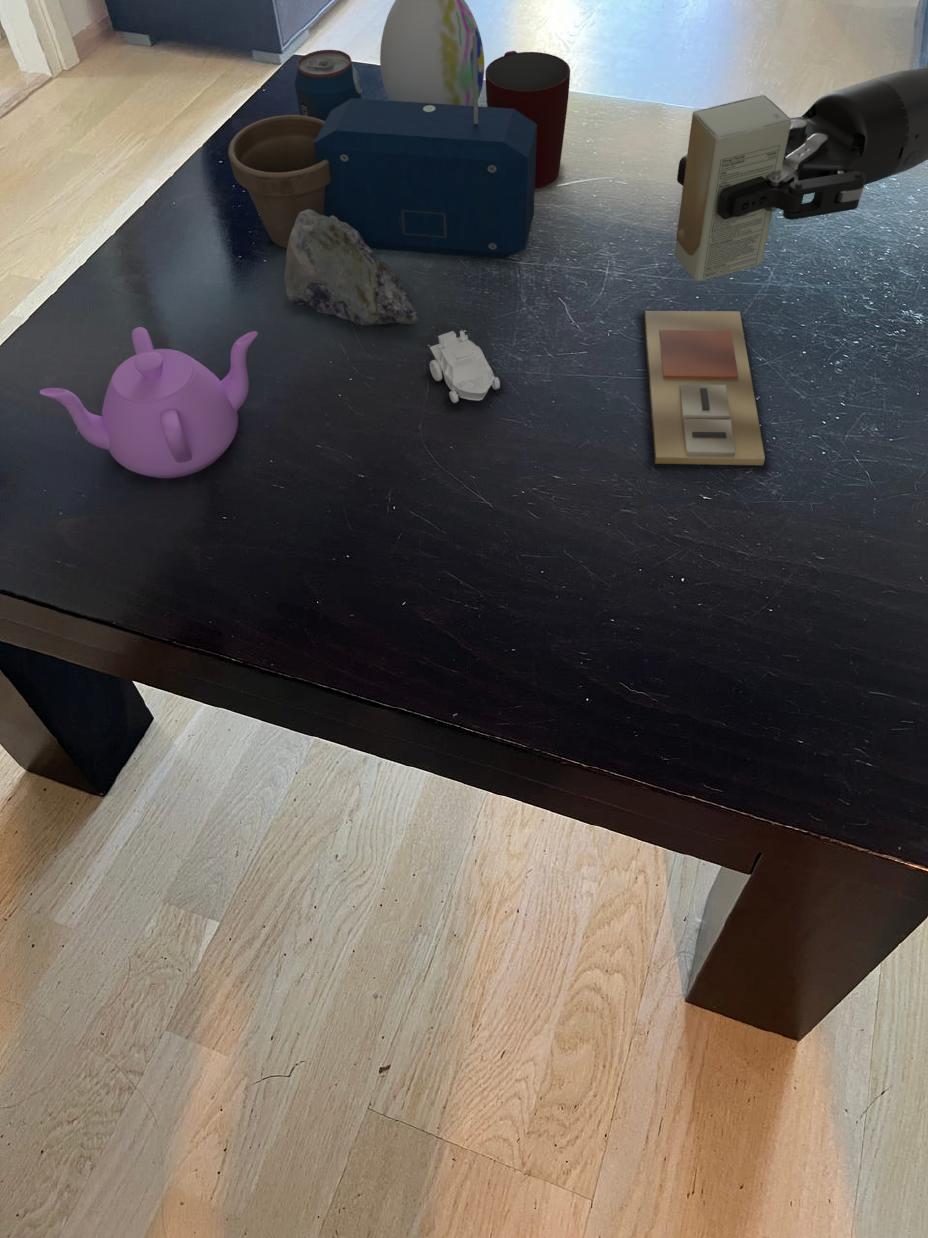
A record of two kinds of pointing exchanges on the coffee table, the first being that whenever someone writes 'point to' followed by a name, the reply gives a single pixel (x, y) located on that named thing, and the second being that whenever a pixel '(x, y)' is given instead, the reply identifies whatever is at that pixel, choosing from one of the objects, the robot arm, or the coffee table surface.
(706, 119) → the cosmetic box
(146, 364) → the teapot
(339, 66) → the soda can
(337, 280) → the mineral rock
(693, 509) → the coffee table surface
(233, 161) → the flower pot
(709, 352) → the word board
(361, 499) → the coffee table surface
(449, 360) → the toy car
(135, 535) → the coffee table surface
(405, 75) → the decorative egg
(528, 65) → the mug
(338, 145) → the radio
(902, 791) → the coffee table surface
